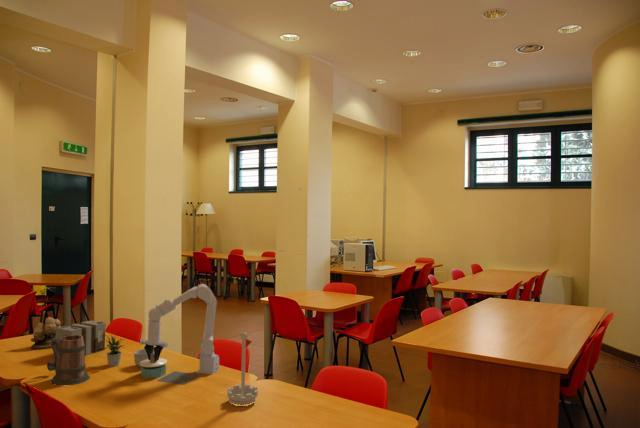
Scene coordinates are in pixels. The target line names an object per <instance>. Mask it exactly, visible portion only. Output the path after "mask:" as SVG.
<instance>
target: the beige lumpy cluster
mask: <svg viewBox="0 0 640 428" xmlns="http://www.w3.org/2000/svg"><path fill="white" fill-rule="evenodd" d="M45 323H46V324H44V323H43V322H38V323H36V325H35V328H34V330H33V333H32V336H33V337H31V338H30V342H33V344H32V345H31V346H30V349H31V350H35V351H39V350H49V349H52V341H53V340H56V328H58V327H62V326H61V325H62V324H61V321H60V319H57V318H53V317H50V316H48V317H47V318H45Z"/></svg>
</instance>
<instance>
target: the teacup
mask: <svg viewBox="0 0 640 428" xmlns="http://www.w3.org/2000/svg"><path fill="white" fill-rule="evenodd" d="M153 353H154V348H153ZM133 356H134V363H135V366H136V367H138V368H140V369H141V366H140V365H139V363H140V362H141V361H143V360H146V359H148V355H147V352H146V350H145V349H144V348H140V349H138V350H135V351H134V352H133Z"/></svg>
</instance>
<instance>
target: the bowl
mask: <svg viewBox="0 0 640 428" xmlns="http://www.w3.org/2000/svg"><path fill="white" fill-rule="evenodd" d="M166 372H167V365H166V364H165V365H162V366H158V367H142V366H141V368H140V376H141V377H142V378H145V379H158V378H162V377H164V376H166V374H167V373H166Z"/></svg>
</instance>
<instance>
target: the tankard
mask: <svg viewBox="0 0 640 428" xmlns="http://www.w3.org/2000/svg"><path fill="white" fill-rule="evenodd" d="M51 349H52V352H53V356H54V357H53V358H54V359H53V360H51V361H47V363H46V368H47V370H48V371H49V372H52V371H54V372H55V375H54V376H53V377H52V379H51V380H50V381H51V383H52V384H51V383H50V384H51V385H53V384H56V385H55V386H57V385H69V386H75V384H76V385H80V384H83V383H86V382H88V380H90V378H91V377H90V375H88V372H87V371H86V365H87V364H86V360H85V359H86V357H85V356H86V355H85V344H84V339H83V336H81V335H74V336H65V337H61V338H60V339H57V340H53V341H52V348H51Z"/></svg>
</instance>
